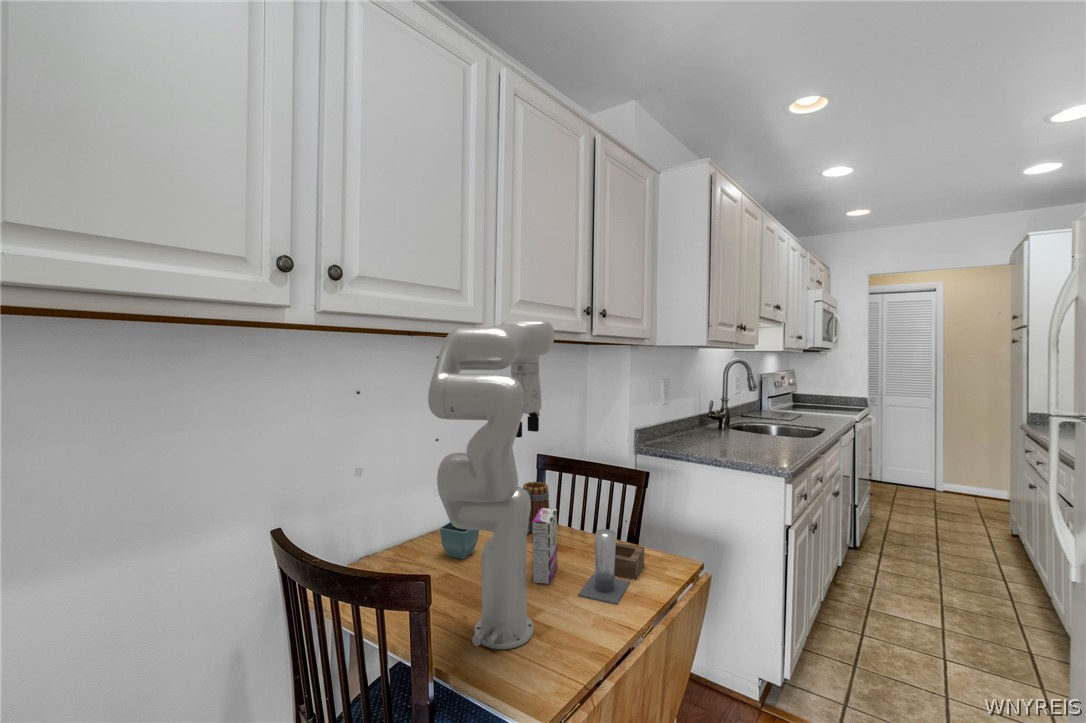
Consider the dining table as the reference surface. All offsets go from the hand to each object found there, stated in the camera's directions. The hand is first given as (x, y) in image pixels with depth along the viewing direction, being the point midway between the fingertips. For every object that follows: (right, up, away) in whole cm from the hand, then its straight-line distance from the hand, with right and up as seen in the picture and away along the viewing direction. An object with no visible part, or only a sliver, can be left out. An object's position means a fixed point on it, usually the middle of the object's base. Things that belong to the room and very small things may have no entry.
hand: (524, 433), depth 129 cm
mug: (+1, -38, +33) cm, 50 cm away
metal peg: (+20, -38, -6) cm, 44 cm away
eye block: (+27, -38, +5) cm, 47 cm away
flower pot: (-20, -38, +14) cm, 45 cm away
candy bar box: (+5, -39, +2) cm, 39 cm away
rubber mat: (+20, -38, -6) cm, 44 cm away
